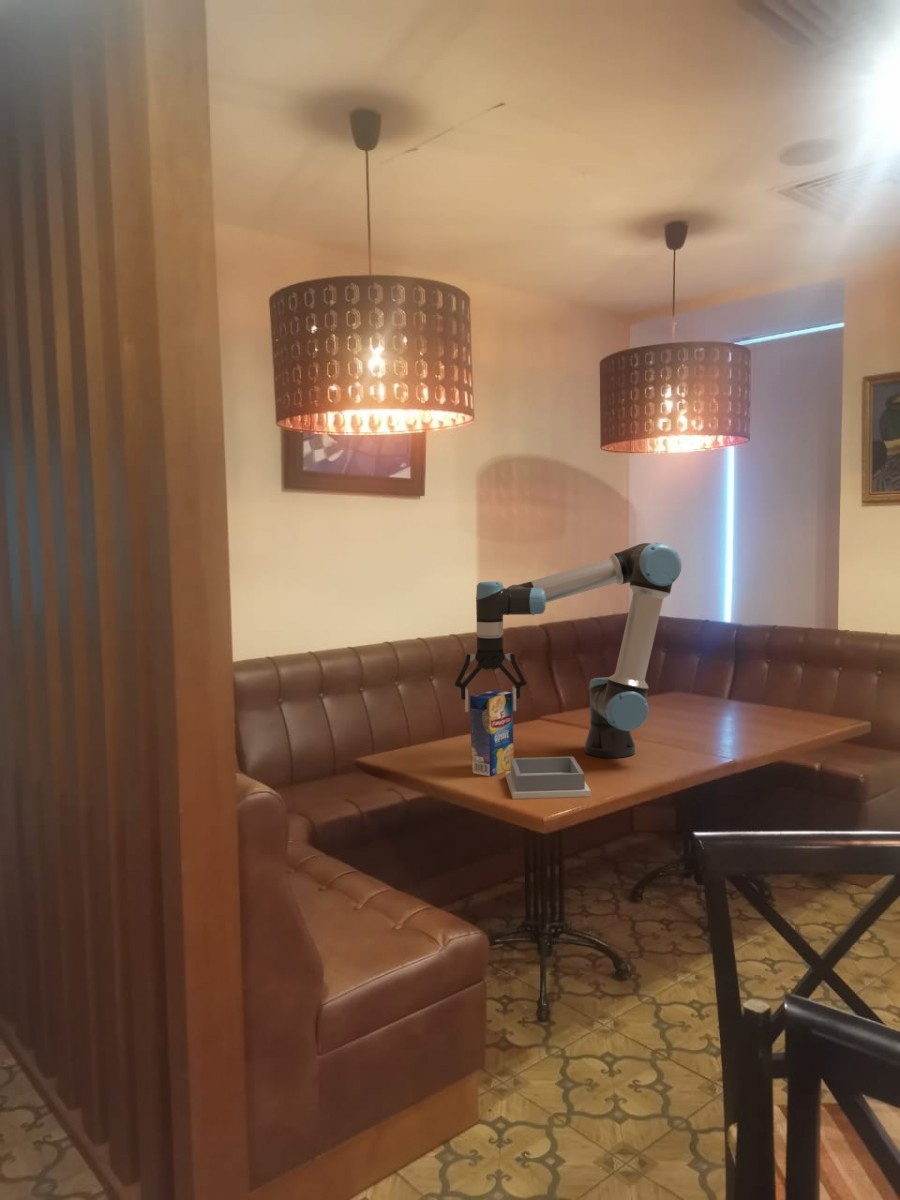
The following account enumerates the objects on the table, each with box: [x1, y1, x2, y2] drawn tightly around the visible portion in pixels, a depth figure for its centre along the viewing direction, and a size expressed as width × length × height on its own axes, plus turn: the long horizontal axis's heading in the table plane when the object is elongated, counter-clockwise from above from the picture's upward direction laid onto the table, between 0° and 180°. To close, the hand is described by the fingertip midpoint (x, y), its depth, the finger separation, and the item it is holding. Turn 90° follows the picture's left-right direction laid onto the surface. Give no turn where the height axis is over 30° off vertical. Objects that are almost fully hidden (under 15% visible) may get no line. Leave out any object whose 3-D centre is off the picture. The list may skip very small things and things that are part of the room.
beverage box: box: [469, 689, 515, 778], centre depth 243 cm, size 7×11×22 cm, turn 140°
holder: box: [505, 756, 592, 800], centre depth 227 cm, size 20×20×6 cm
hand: (490, 710), depth 242 cm, fingers open, 13 cm apart
